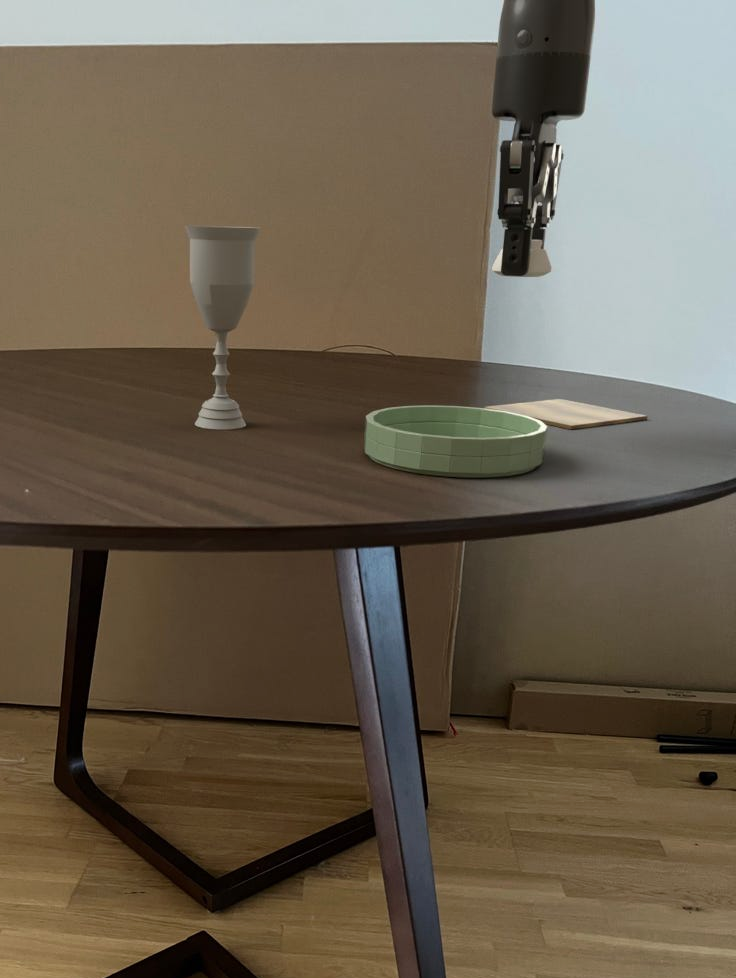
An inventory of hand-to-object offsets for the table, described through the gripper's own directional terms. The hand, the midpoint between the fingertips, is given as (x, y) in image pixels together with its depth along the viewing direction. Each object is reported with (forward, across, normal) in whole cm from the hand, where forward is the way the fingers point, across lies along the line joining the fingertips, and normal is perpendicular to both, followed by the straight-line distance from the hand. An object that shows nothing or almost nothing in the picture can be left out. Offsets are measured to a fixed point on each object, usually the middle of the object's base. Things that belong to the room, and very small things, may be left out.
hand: (521, 273), depth 90 cm
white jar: (0, 0, 0) cm, 0 cm away
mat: (+15, +18, -2) cm, 23 cm away
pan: (+15, -10, +2) cm, 18 cm away
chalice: (+15, -7, +26) cm, 31 cm away
